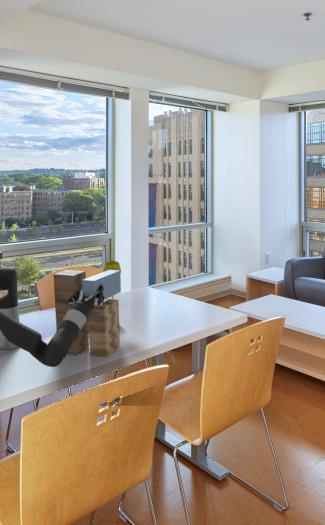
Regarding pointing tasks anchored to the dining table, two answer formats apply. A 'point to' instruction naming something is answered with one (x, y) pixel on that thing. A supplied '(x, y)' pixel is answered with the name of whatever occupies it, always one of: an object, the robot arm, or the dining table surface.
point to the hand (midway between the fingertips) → (95, 285)
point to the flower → (112, 267)
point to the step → (104, 329)
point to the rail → (103, 283)
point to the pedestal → (63, 290)
